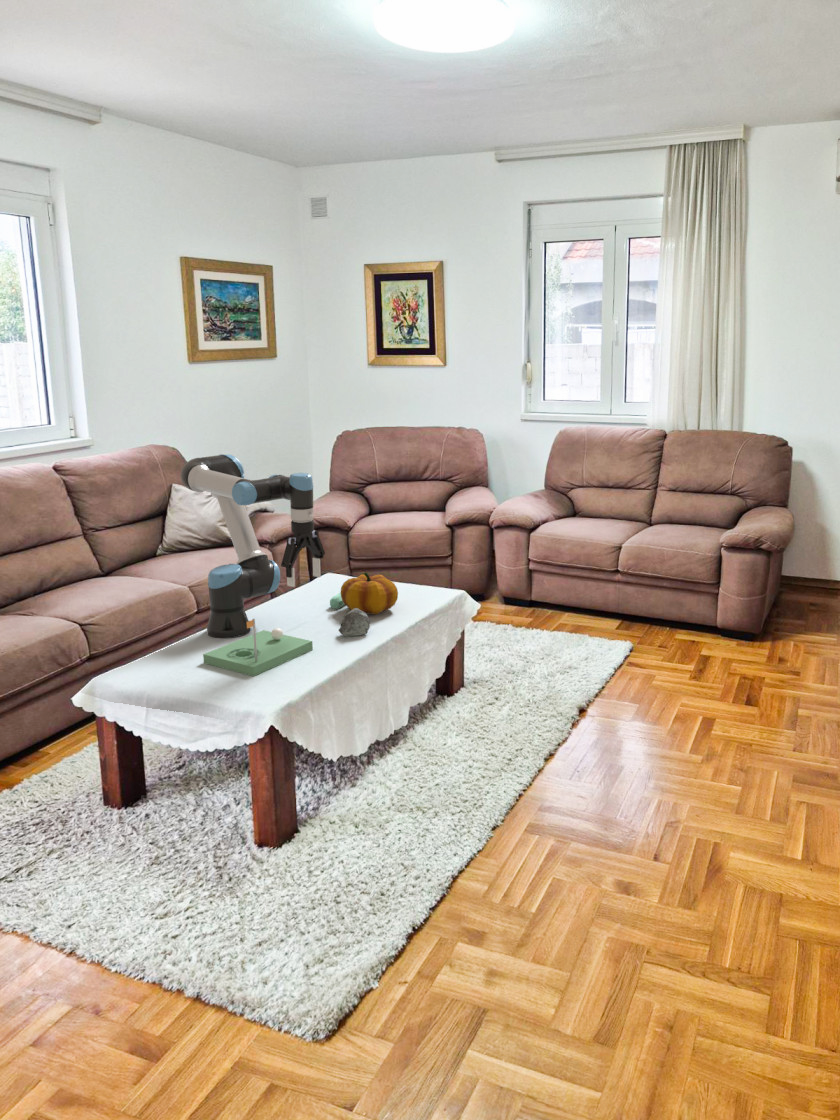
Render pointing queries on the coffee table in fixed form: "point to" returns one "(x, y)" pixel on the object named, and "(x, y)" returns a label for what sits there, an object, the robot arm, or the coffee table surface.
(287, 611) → the coffee table surface
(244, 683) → the coffee table surface
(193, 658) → the coffee table surface
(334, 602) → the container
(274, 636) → the ball
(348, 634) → the stone
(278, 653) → the green
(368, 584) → the decorative pumpkin
